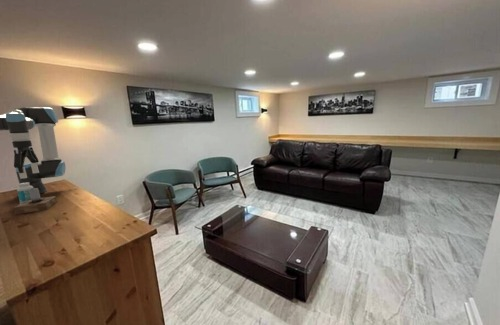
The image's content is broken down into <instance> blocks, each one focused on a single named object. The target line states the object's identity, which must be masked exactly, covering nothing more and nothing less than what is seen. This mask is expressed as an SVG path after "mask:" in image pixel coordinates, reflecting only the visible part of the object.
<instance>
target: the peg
mask: <svg viewBox="0 0 500 325" xmlns="http://www.w3.org/2000/svg"><path fill="white" fill-rule="evenodd" d="M29 193H30V197H31V201H32V203H37V202H41V198H42V197H41V194H39V190H38V188H33V189H29Z"/></svg>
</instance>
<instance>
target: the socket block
mask: <svg viewBox="0 0 500 325" xmlns="http://www.w3.org/2000/svg"><path fill="white" fill-rule="evenodd" d="M40 198H41V202H37V203H32V201H31V199H29V200H26V201H24V202H23V203H21V204H20V203H19V204H17V205H16V206H14V207H13V209H14V212H15V215H18V214H19V213H20V214H25V213H31V212H39V211H44V210H48V209H50V208H51V207H52V206H53V205H54V204H56V203H57V202H58V200H57V195H52V196H46V197H40Z"/></svg>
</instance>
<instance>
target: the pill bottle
mask: <svg viewBox="0 0 500 325" xmlns="http://www.w3.org/2000/svg"><path fill="white" fill-rule="evenodd" d="M19 186H20V187H19ZM29 189H33V186H30V185H29V182H27V183H20V184H19V183H18V187H17V188H16V192H17V196H18V200H19V204H21V203H23V202H24V201H26V200H29V199H31V197H30V193H29Z"/></svg>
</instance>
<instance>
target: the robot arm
mask: <svg viewBox="0 0 500 325" xmlns="http://www.w3.org/2000/svg"><path fill="white" fill-rule="evenodd" d="M56 123H59V119H58V115H57V113H56V112H55V110H54V109H53V108H52V107H47V106H31V107H30V106H23V107H17V108H13V109H10V110H7V111H6V112H5V113H2V114H0V131H9V137H10V138H11V139H10V140H11V141H12V142H11V143H12V147H13V148H14V150H13V153H14V158H13V167H14V168H15V174H16V175H17V180H18V188H19V187H20V186H19V184H20V183H27V182H29V185H30V186H33V188H38V190H39V194H40V195H41V194H43V193H46V192H47V191H48V189H47V187H46V185H45V184H44V183H43V181H42V179H49V178H50V179H51V178H57V177H63V176H64V175H65V173H66V163H65V161H63V160H62V158H60V156H59V153H58V147H57V139H56V135H55V129H54V128H55V127H56ZM35 127H37V129H38V135H39V141H40V147H41V148H40V149H41V153H42V159H41V160H40V163H39V159H38V157H37V154H36V153H35V151H34V148H33V147H32V146H33V143H32V141H31V139H32V138H31V135H30V131H29V130H32V129H34V128H35ZM26 158H27V159H28V161H29V162H26V163H25V161H26Z"/></svg>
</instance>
